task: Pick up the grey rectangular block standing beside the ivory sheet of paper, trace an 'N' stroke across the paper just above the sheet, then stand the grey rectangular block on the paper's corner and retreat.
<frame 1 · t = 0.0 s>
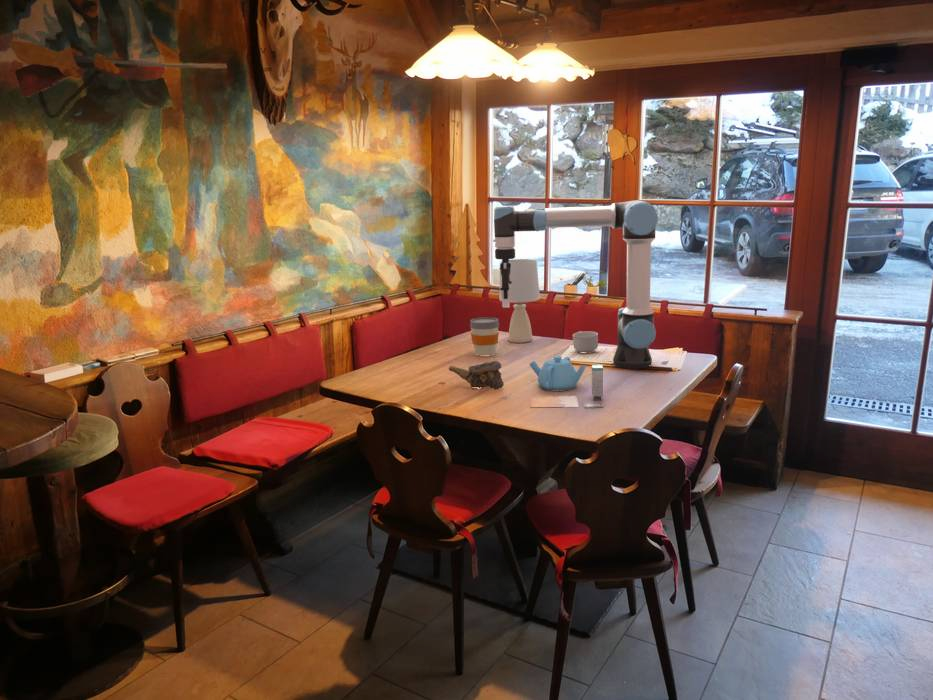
hand: (506, 304, 288), 28 cm above the table, fingers open, 13 cm apart
reusable coffee cup: (485, 354, 331), on the table
paper: (553, 402, 259), on the table
grey rectangular block: (597, 399, 261), on the table
teacup: (584, 351, 329), on the table
word card: (593, 406, 253), on the table
lamp: (520, 340, 354), on the table
teapot: (557, 386, 278), on the table
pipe: (475, 387, 281), on the table
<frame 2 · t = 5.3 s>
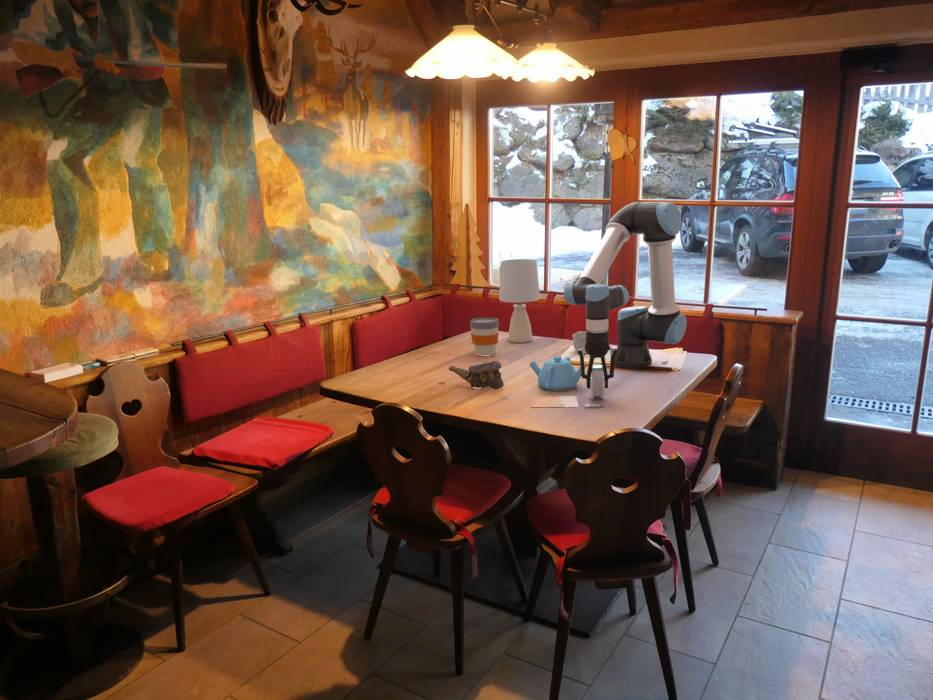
hand: (597, 397, 260), 1 cm above the table, fingers closed on grey rectangular block, 3 cm apart
grey rectangular block: (597, 399, 261), on the table, touching gripper
everything else where it was.
when the fingers open (2 cm above the table, at t = 14.7 s): grey rectangular block stays where it is, resting on paper.
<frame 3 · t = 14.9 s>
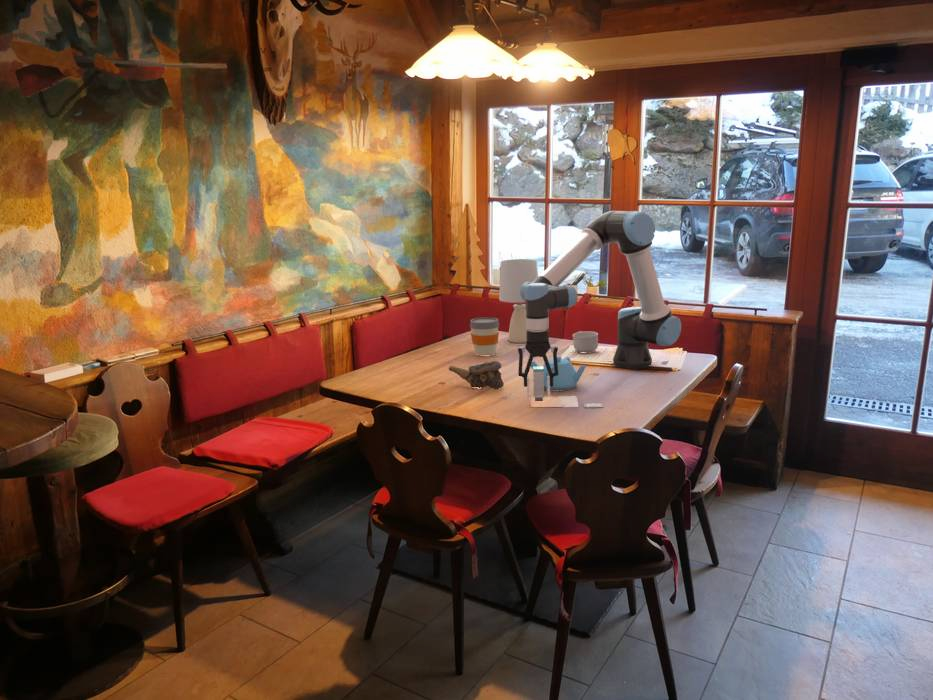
hand: (538, 395, 261), 2 cm above the table, fingers open, 6 cm apart
grey rectangular block: (538, 400, 261), resting on paper
everything else where it was.
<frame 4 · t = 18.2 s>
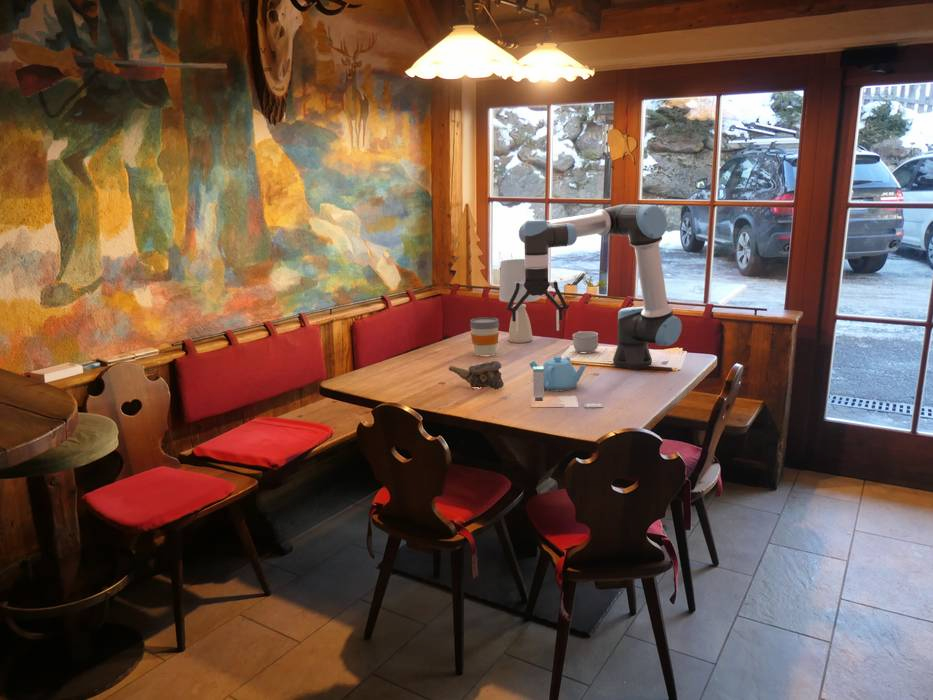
hand: (537, 330, 256), 25 cm above the table, fingers open, 13 cm apart
nothing on the table moved.
at the end: grey rectangular block inside the target area (5.4 cm from its centre), resting on paper; grey rectangular block tilted 0°; the gripper is holding nothing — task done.
